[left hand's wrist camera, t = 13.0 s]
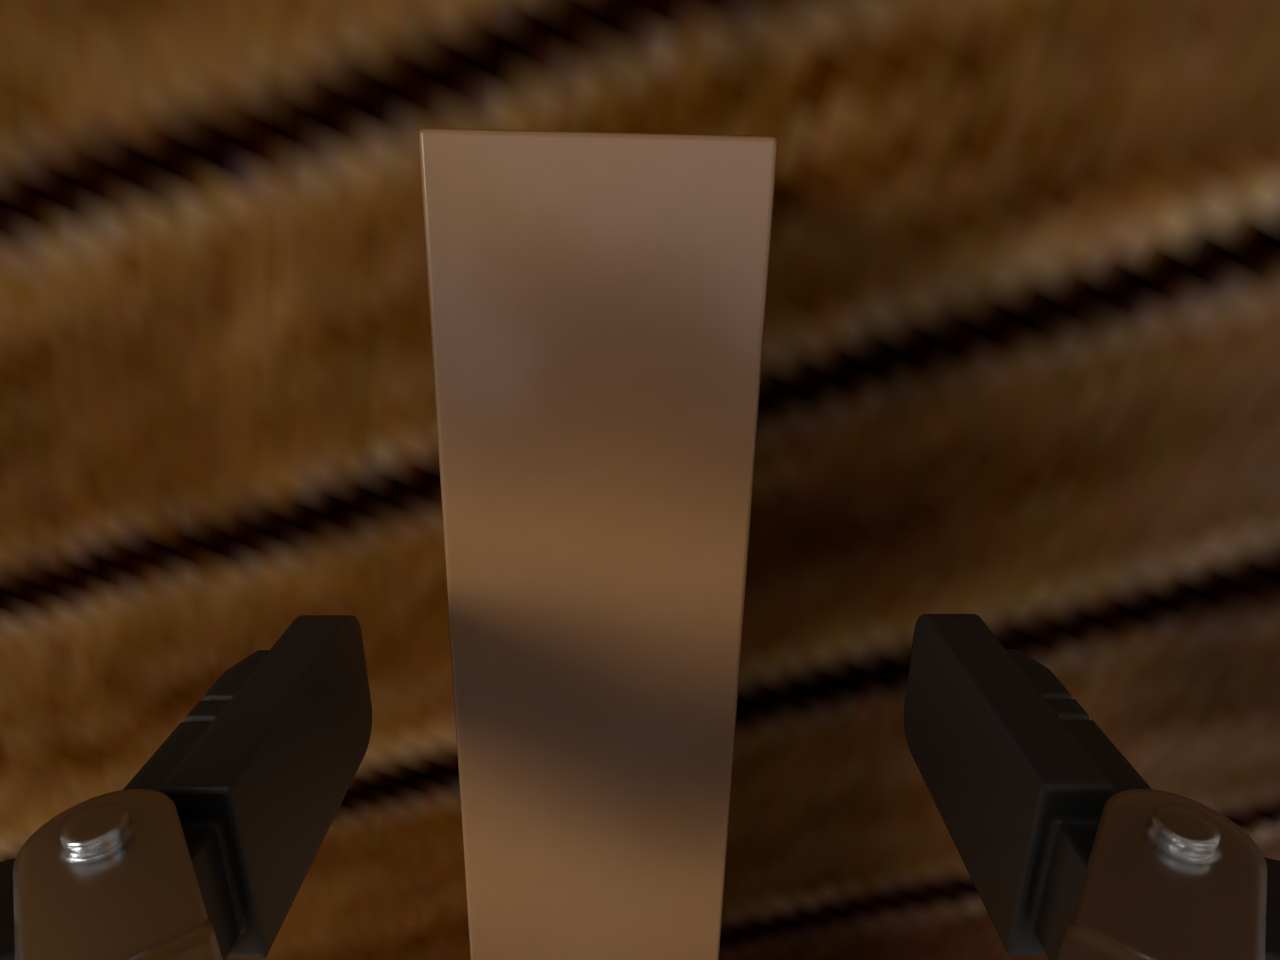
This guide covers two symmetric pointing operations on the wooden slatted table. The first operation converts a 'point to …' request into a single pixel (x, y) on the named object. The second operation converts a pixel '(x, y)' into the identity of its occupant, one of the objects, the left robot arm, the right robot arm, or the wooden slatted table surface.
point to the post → (596, 520)
